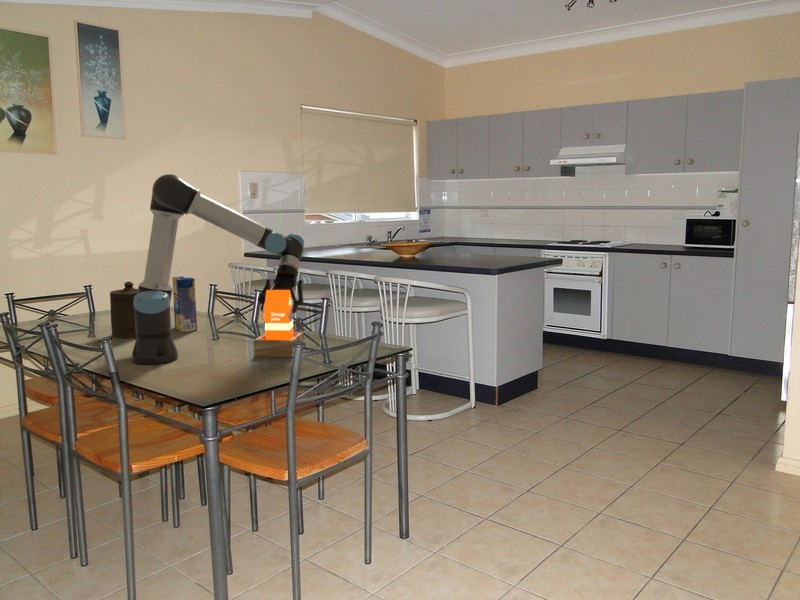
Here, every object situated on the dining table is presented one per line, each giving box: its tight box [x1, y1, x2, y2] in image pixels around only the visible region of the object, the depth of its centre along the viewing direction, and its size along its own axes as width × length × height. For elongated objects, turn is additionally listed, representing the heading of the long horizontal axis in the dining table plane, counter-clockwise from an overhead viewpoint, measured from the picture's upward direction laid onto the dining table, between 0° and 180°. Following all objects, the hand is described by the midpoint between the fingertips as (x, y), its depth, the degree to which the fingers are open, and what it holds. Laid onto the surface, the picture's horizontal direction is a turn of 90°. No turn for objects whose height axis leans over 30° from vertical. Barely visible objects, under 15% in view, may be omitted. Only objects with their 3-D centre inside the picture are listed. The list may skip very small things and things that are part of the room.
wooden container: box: [109, 281, 138, 339], centre depth 275 cm, size 15×15×22 cm
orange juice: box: [264, 289, 294, 340], centre depth 244 cm, size 8×9×20 cm
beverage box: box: [171, 275, 198, 333], centre depth 287 cm, size 7×11×22 cm, turn 30°
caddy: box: [253, 331, 305, 359], centre depth 246 cm, size 15×14×6 cm
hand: (276, 319), depth 241 cm, fingers closed on orange juice, 9 cm apart
